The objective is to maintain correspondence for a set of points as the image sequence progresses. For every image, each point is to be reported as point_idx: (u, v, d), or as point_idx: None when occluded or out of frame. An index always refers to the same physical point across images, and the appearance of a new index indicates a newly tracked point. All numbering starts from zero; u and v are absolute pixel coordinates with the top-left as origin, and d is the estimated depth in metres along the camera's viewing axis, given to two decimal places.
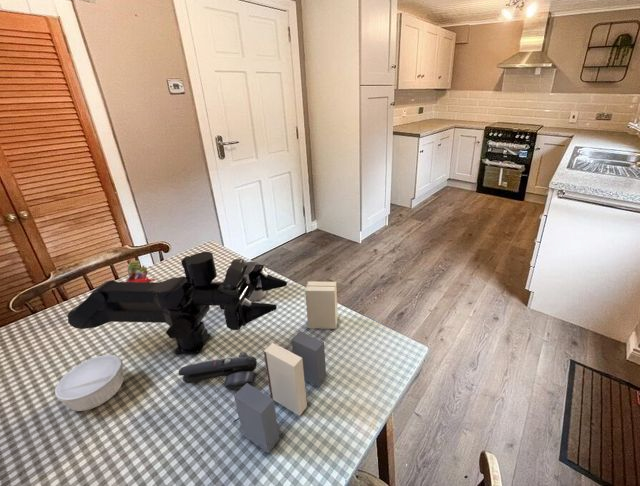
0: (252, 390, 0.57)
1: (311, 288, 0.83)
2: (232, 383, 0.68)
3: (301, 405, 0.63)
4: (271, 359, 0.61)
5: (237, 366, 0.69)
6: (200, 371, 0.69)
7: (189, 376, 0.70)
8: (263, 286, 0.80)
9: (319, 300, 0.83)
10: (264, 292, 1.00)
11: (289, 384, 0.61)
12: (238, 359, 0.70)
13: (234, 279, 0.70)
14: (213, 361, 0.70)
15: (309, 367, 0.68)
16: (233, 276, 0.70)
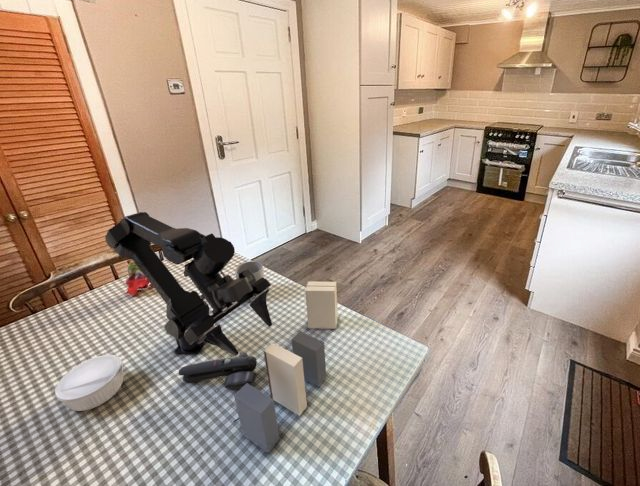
0: (252, 390, 0.57)
1: (311, 288, 0.83)
2: (232, 383, 0.68)
3: (301, 405, 0.63)
4: (271, 359, 0.61)
5: (237, 366, 0.69)
6: (200, 371, 0.69)
7: (189, 376, 0.70)
8: (253, 304, 0.70)
9: (319, 300, 0.83)
10: None
11: (289, 384, 0.61)
12: (238, 359, 0.70)
13: (227, 298, 0.60)
14: (213, 361, 0.70)
15: (309, 367, 0.68)
16: (229, 296, 0.59)
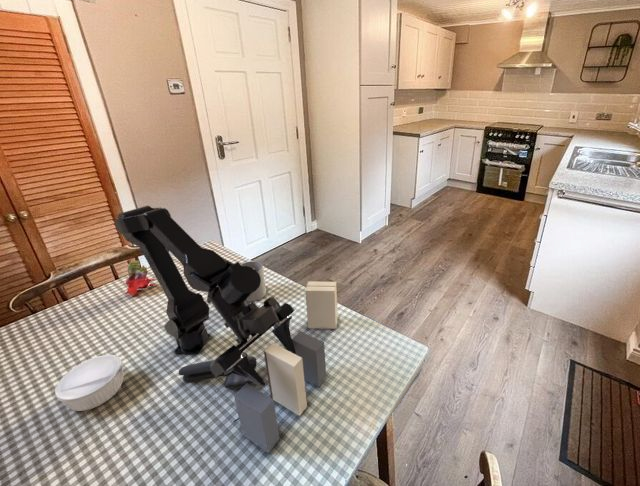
0: (252, 390, 0.57)
1: (311, 288, 0.83)
2: (232, 383, 0.68)
3: (301, 405, 0.63)
4: (271, 359, 0.61)
5: None
6: (200, 371, 0.69)
7: (189, 376, 0.70)
8: (275, 331, 0.68)
9: (319, 300, 0.83)
10: (264, 292, 1.00)
11: (289, 384, 0.61)
12: None
13: (254, 329, 0.58)
14: None
15: (309, 367, 0.68)
16: (255, 328, 0.58)
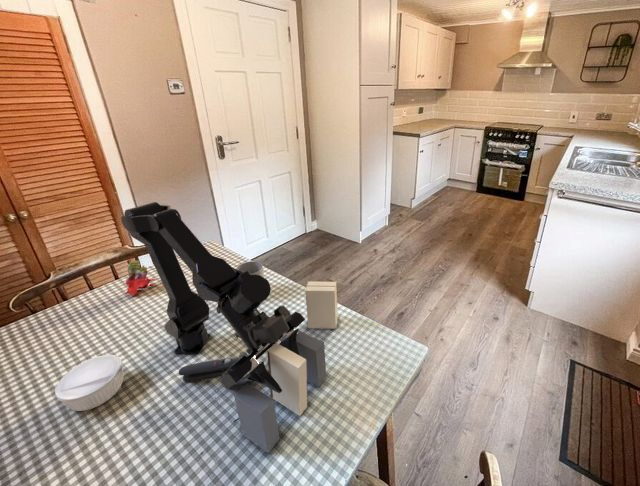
0: (252, 390, 0.57)
1: (311, 288, 0.83)
2: None
3: (302, 405, 0.63)
4: (274, 359, 0.61)
5: None
6: (200, 371, 0.69)
7: (189, 375, 0.70)
8: (282, 344, 0.66)
9: (319, 300, 0.83)
10: None
11: (292, 385, 0.61)
12: (238, 359, 0.70)
13: (265, 339, 0.57)
14: (213, 361, 0.70)
15: (309, 367, 0.68)
16: (266, 337, 0.57)
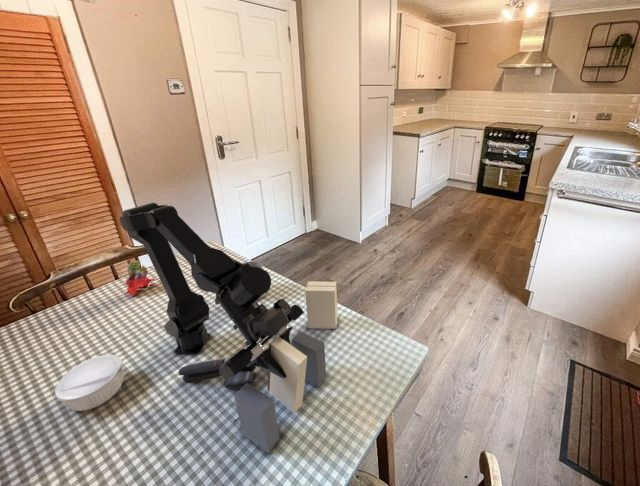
0: (252, 390, 0.57)
1: (311, 288, 0.83)
2: (232, 383, 0.68)
3: (297, 403, 0.62)
4: (275, 352, 0.60)
5: None
6: (200, 371, 0.69)
7: (189, 375, 0.70)
8: None
9: (319, 300, 0.83)
10: None
11: (290, 380, 0.60)
12: None
13: (264, 332, 0.57)
14: (213, 361, 0.70)
15: (309, 367, 0.68)
16: (266, 330, 0.56)
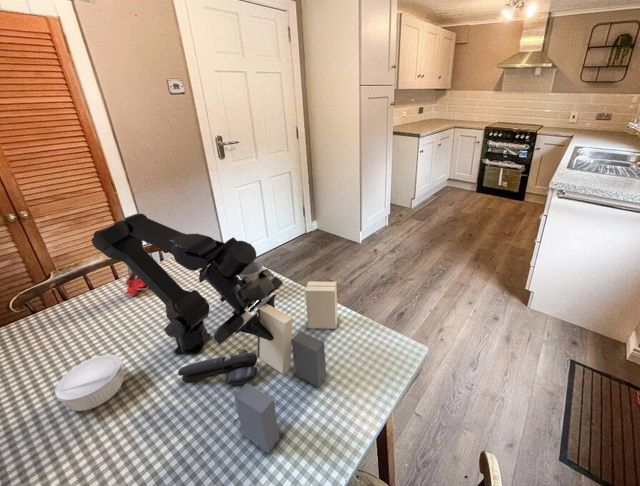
0: (252, 390, 0.57)
1: (311, 288, 0.83)
2: (234, 379, 0.69)
3: (285, 364, 0.69)
4: (264, 316, 0.67)
5: (238, 362, 0.70)
6: (201, 370, 0.69)
7: (189, 375, 0.70)
8: None
9: (319, 300, 0.83)
10: None
11: (277, 341, 0.67)
12: (238, 355, 0.71)
13: (254, 297, 0.64)
14: (213, 359, 0.70)
15: (309, 367, 0.68)
16: (255, 295, 0.63)
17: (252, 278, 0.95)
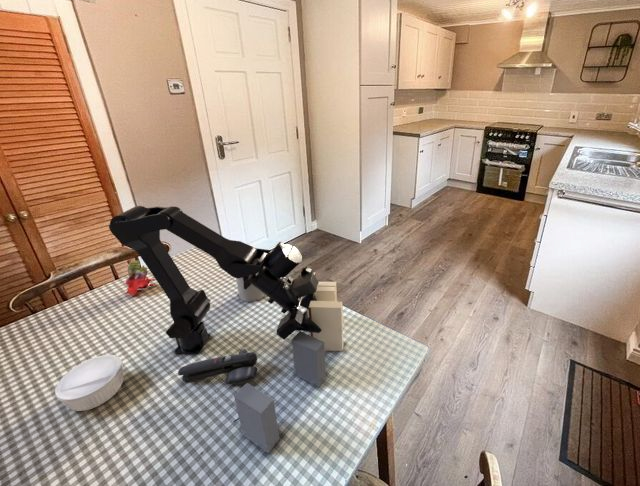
0: (252, 390, 0.57)
1: None
2: (234, 379, 0.69)
3: (342, 342, 0.79)
4: (316, 311, 0.74)
5: (238, 362, 0.70)
6: (201, 369, 0.69)
7: (189, 375, 0.70)
8: (302, 302, 0.79)
9: (319, 300, 0.83)
10: None
11: (334, 326, 0.76)
12: (238, 355, 0.71)
13: (306, 292, 0.71)
14: (213, 359, 0.70)
15: (309, 367, 0.68)
16: (308, 290, 0.71)
17: None
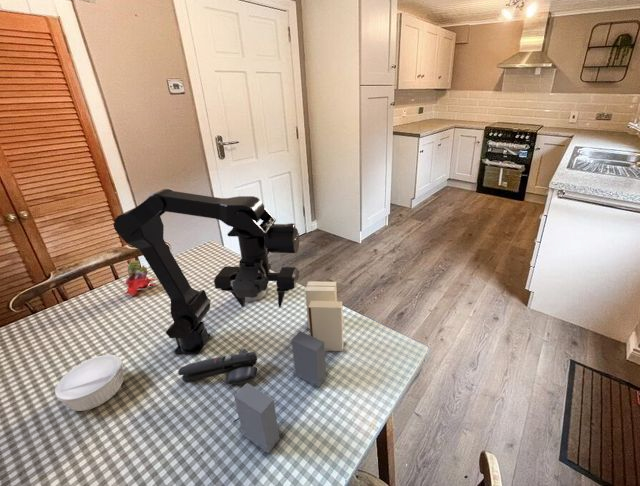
0: (252, 390, 0.57)
1: (311, 288, 0.83)
2: (234, 379, 0.69)
3: (342, 342, 0.79)
4: (316, 311, 0.74)
5: (238, 362, 0.70)
6: (201, 369, 0.69)
7: (189, 375, 0.70)
8: None
9: (319, 300, 0.83)
10: (264, 292, 1.00)
11: (334, 326, 0.76)
12: (238, 355, 0.71)
13: None
14: (213, 359, 0.71)
15: (309, 367, 0.68)
16: None
17: None
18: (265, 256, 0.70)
